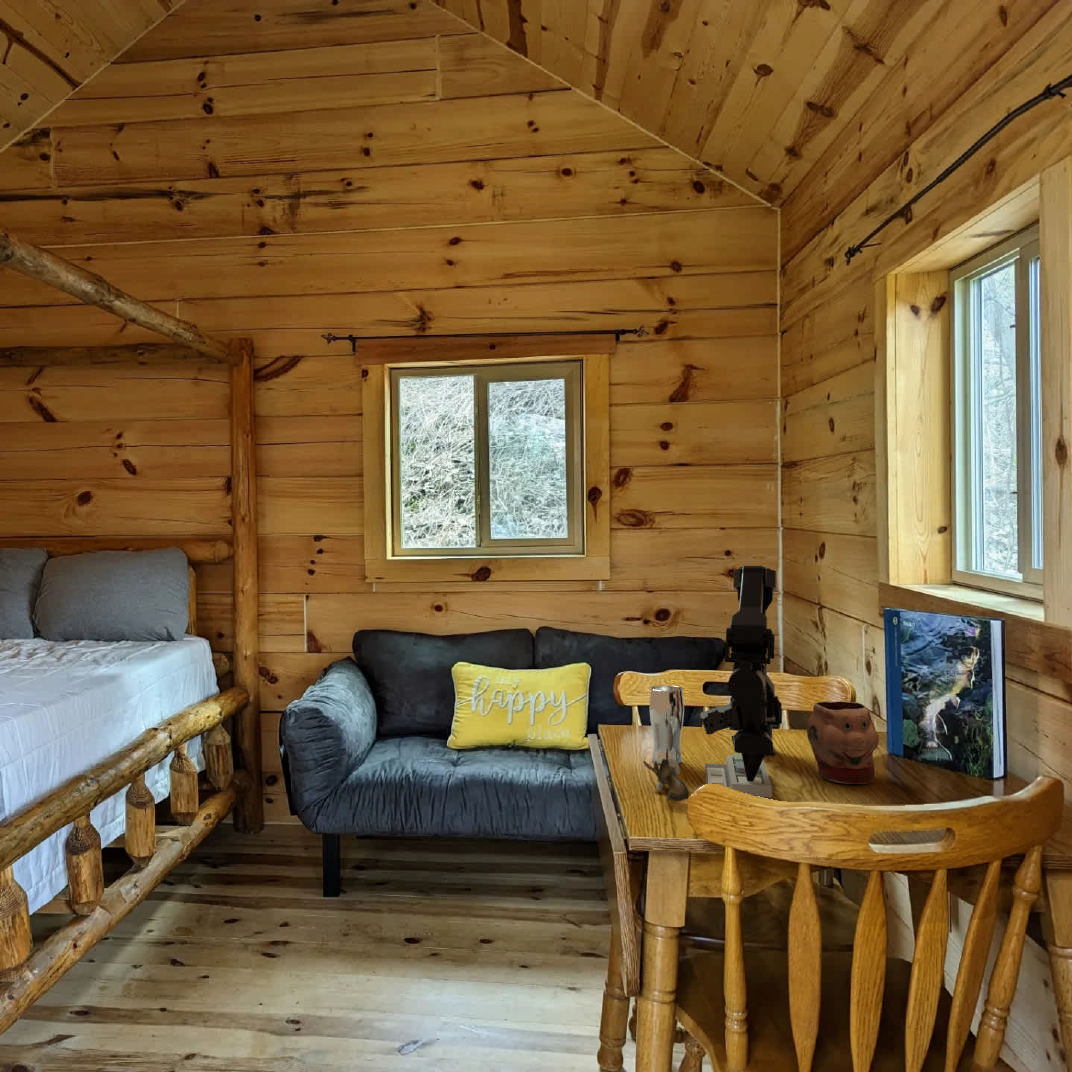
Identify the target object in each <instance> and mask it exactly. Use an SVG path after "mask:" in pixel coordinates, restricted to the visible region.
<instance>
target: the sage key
mask: <svg viewBox="0 0 1072 1072" xmlns="http://www.w3.org/2000/svg"><path fill="white" fill-rule="evenodd" d="M733 756H734V763H735V764H736V761H741V762H743V758H742V753H737V752H734V753H733Z"/></svg>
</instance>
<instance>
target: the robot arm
mask: <svg viewBox="0 0 1072 1072" xmlns="http://www.w3.org/2000/svg"><path fill="white" fill-rule="evenodd" d="M732 576H733V584H732V585H733V587H732V588H733V590H734V591H737V601H738V602H739V605H738V606H739V607H738V611H737V612H735V613H734V614H733V615H731V618H730V624H729V627H726V630H725V631H726V632H725V647H724V648H725V650H724V663H731V664H732V663H733V665H732V672H731V674H730V677H729V678H728V681H727V690H728V693H729V695H730V697H729V698H730V699H729V701H730V703H729V704H724V705H720V706H717V707H714V708H711V709H709V710H704V711H702V712H701V713H700V720H701V723H702V725H703V728H704V731H705V733H706V735H709V736H710V735H713V734H715V733H716V732H719V731H722V730H725V729H728V728H729V730H730V731H736V732H735V734H734V735H731V737H730V738H731V741H732V745H733V749H734V750H733V751H734V753H742V758H743V763H744V768H745V773H746V778H747V781H754V779H755V776H756V774H757V772H758V770H759V767H760V765H761V763H762V761H764V759H765V756H766V755H771V756H772V755H773V756H775V755H776V754H777V753H776V752H777V751H776V750H775V747H774V741H773V725H774V726H779V725H781V724H783V710H782V707H783V706H782V703H781V701H780V699H779V696H778V695H775V694H776V691H775V690H776V687H775V684H774V683H773V681H772V679H771V678H770V677H769V676H768V665H771V662H772V659H773V660H775V647H776V645H775V641H776V639H775V638H776V636H775V634H774V633H773V630H772V628H768V617H767V610H768V609H769V607H770V606H771V604H772V602H773V600H774V591H777V589H778V588H777V579H778V578H777V571H776V570H774V569H771V568H770V567H766V566H764V565H743V566H739V568H737V569H734V570H733V575H732Z"/></svg>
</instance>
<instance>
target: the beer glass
mask: <svg viewBox="0 0 1072 1072" xmlns="http://www.w3.org/2000/svg"><path fill="white" fill-rule="evenodd" d="M683 691H684V689H683V687H681V686H678V685H671V684H660V685H659V684H657V685H653V686H651V687H650V690H649V718H650V719H649V720H650V725H651V732H652V736H653V751H652V758H651V761H652V763H653V764H654V763H655V762H657V765H660V764H661V762H662V759H668V761H669V759H674V760H675V761H676V762H678V765H680V764H682V762H683V756H682V750H681V738H682V731H683V725H684V717H685V716H684V715H685V702H684V701H685V700H684V692H683Z"/></svg>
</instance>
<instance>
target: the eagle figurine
mask: <svg viewBox="0 0 1072 1072" xmlns="http://www.w3.org/2000/svg"><path fill="white" fill-rule="evenodd" d="M642 763H643V764H644V766H645V767H646V768H647V769H649V770H651V771H652V772H653V773H654V774H655V776H656V777H657V784H656V787H655V791H654V793H655V794H656V793H658V792H659V791H661V790H662V788H663V787H664V786H665V785H667V787H668V792H667V799H669V800H670V801H674V802H680V801H684V800H686V799H687V798H688V796H689V789H688V787H687V785H686V784H685V781H683V780H682V779H681V778H680V777H679V776H677V775H680V772H681V769H680V764H678V762H676V761H675V760H674V759H669V761H668V759H662V762H661V764H657V762H655V763H654V762H653V766H652V765H649V763H647V762H646V760H642Z"/></svg>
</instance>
